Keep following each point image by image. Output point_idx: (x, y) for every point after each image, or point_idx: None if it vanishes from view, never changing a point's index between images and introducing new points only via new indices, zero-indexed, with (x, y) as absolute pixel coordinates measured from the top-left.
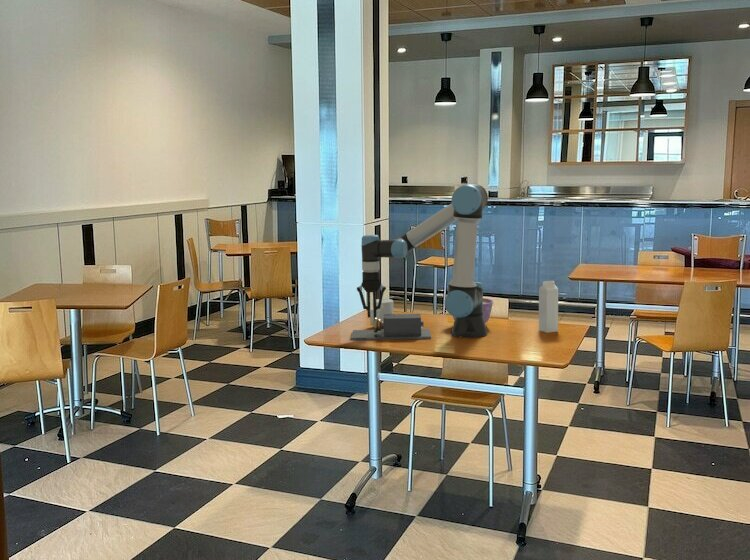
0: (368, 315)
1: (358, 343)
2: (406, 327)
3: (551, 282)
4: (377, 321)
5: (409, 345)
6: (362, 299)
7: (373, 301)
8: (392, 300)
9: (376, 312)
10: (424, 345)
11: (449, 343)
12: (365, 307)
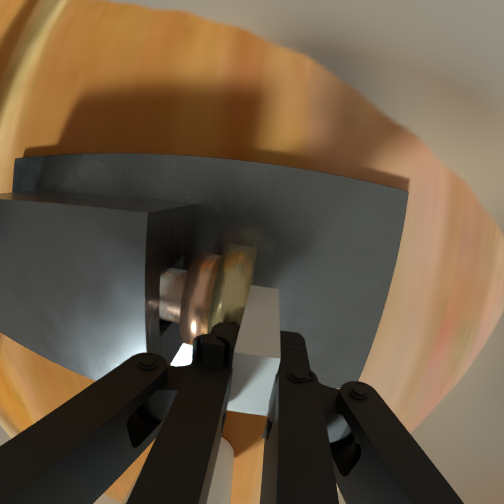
0: (296, 342)
1: (364, 98)
2: (52, 195)
3: None
4: (213, 282)
5: (111, 36)
6: (423, 484)
7: (203, 453)
8: None
9: (213, 489)
10: (66, 46)
11: (5, 90)
12: (347, 395)
